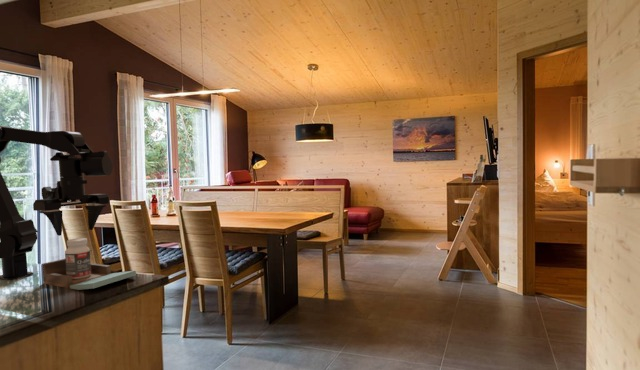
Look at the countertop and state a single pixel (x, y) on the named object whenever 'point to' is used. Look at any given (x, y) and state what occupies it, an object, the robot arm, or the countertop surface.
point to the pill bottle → (78, 259)
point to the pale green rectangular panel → (103, 280)
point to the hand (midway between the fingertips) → (75, 232)
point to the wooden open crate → (57, 275)
